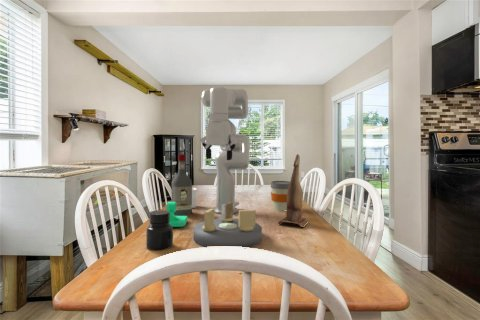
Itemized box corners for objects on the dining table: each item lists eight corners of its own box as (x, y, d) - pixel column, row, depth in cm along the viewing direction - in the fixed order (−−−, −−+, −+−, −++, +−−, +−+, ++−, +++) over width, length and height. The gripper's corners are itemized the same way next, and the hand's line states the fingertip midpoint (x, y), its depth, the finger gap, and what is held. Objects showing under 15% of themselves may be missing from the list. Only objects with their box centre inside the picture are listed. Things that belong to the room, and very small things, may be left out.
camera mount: (182, 229, 125) (182, 205, 124) (164, 228, 125) (164, 204, 124) (187, 221, 137) (187, 199, 136) (171, 221, 137) (171, 199, 136)
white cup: (199, 205, 169) (199, 188, 168) (193, 208, 161) (193, 190, 161) (187, 204, 171) (187, 187, 171) (180, 207, 164) (180, 189, 163)
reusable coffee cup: (276, 205, 172) (277, 180, 171) (296, 209, 165) (297, 182, 164) (265, 209, 162) (266, 182, 161) (286, 213, 155) (287, 184, 154)
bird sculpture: (277, 226, 131) (279, 154, 128) (285, 219, 142) (287, 152, 139) (302, 230, 127) (305, 155, 124) (308, 223, 137) (311, 153, 134)
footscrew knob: (226, 218, 126) (226, 201, 125) (236, 220, 123) (236, 202, 123) (217, 221, 121) (218, 204, 120) (228, 223, 118) (228, 205, 118)
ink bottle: (178, 243, 107) (178, 210, 106) (166, 252, 99) (166, 216, 98) (153, 240, 109) (153, 208, 109) (140, 249, 101) (140, 214, 100)
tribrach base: (222, 224, 132) (222, 198, 132) (273, 235, 117) (274, 207, 117) (178, 239, 111) (179, 209, 110) (234, 255, 96) (235, 220, 96)
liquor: (170, 212, 153) (170, 153, 151) (188, 210, 156) (188, 153, 154) (174, 216, 144) (174, 154, 142) (192, 215, 148) (193, 154, 146)
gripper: (196, 117, 123) (196, 158, 125) (234, 117, 116) (233, 161, 118) (205, 118, 130) (205, 157, 132) (241, 118, 123) (241, 159, 125)
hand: (218, 159), depth 125 cm, fingers open, 9 cm apart
